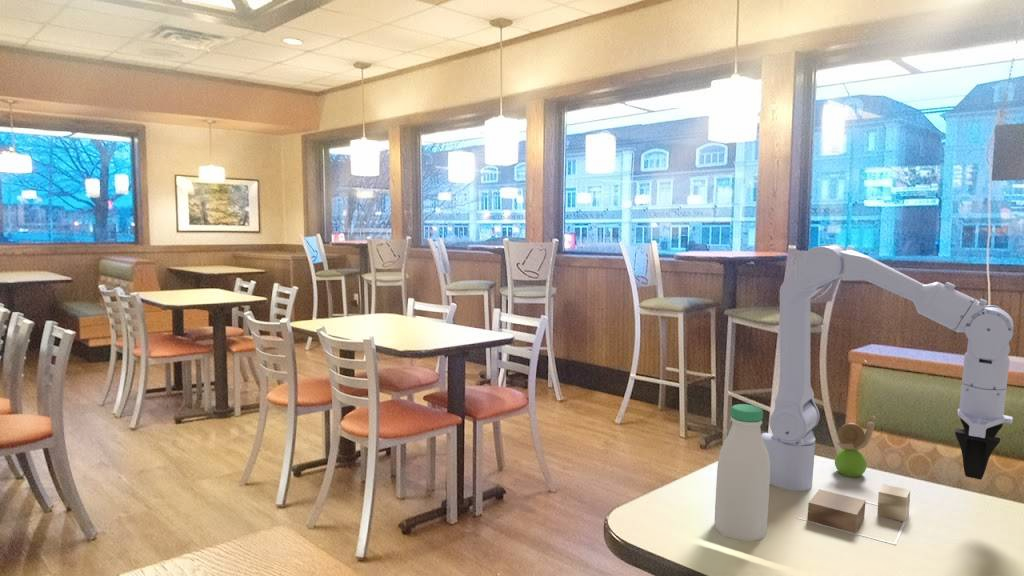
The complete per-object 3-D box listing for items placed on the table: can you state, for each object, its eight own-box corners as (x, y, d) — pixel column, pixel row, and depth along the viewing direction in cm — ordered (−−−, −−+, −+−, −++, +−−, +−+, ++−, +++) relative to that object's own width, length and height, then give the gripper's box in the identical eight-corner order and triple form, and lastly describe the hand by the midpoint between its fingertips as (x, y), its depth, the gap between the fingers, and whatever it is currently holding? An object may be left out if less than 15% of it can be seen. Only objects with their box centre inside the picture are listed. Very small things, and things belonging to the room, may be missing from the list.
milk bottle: (776, 543, 104) (784, 414, 102) (728, 546, 103) (735, 415, 101) (750, 520, 112) (757, 399, 109) (705, 523, 110) (711, 401, 108)
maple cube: (877, 515, 113) (878, 491, 112) (881, 507, 116) (882, 484, 116) (905, 521, 110) (906, 497, 110) (908, 513, 114) (910, 489, 113)
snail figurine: (875, 484, 127) (880, 420, 126) (837, 480, 129) (842, 418, 127) (866, 473, 133) (871, 412, 131) (830, 470, 134) (834, 409, 132)
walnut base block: (807, 520, 110) (808, 502, 110) (818, 506, 116) (819, 489, 116) (855, 533, 106) (856, 514, 106) (864, 518, 112) (865, 500, 111)
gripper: (1014, 400, 98) (1004, 491, 100) (1016, 380, 110) (1008, 462, 112) (956, 391, 103) (947, 479, 104) (964, 373, 114) (956, 452, 116)
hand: (975, 470), depth 108 cm, fingers open, 7 cm apart
